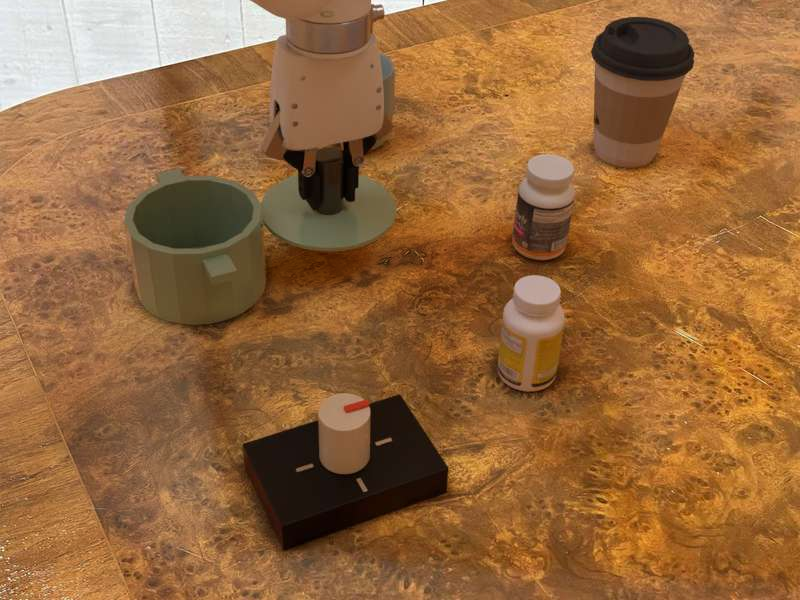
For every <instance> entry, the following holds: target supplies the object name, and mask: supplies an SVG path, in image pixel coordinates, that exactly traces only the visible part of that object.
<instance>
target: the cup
mask: <svg viewBox="0 0 800 600" xmlns="http://www.w3.org/2000/svg"><path fill="white" fill-rule="evenodd" d="M379 55H380V61H381V68H382V77H383V91H384V111H385V112H386V114H387V116H388V118H389V119H390V121H391V123H392V124H393V120H394V113H395V102H396V101H395V98H396V69H395V63H394V62H393V60H392V59H391V58H390V57H388V56H387V55H385V54H383V53H381V52H379ZM389 136H390V133H388V134H387V135H386V136H384V137H383V138H381V139H380V140H377V141H376V143H375V145H374V146H373V147H372V148H371V149H370V150H369V151H372V150H376V149H377V148H380V147H381V146H382V145H383V144H385V142H386V141H387V140H388V138H389ZM337 144H338V145H339V146H341V143H337Z"/></svg>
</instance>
